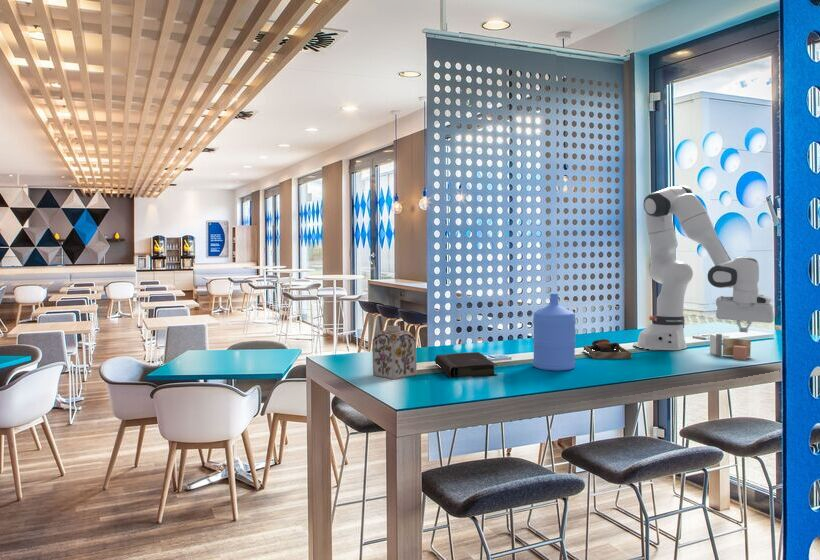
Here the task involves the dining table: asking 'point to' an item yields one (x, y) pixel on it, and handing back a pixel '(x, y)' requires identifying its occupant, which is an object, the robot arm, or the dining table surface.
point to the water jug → (554, 337)
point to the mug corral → (609, 354)
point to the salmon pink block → (740, 352)
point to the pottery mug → (605, 346)
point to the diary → (466, 364)
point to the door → (731, 342)
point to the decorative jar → (394, 354)
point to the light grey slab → (716, 344)
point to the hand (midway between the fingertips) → (743, 332)
